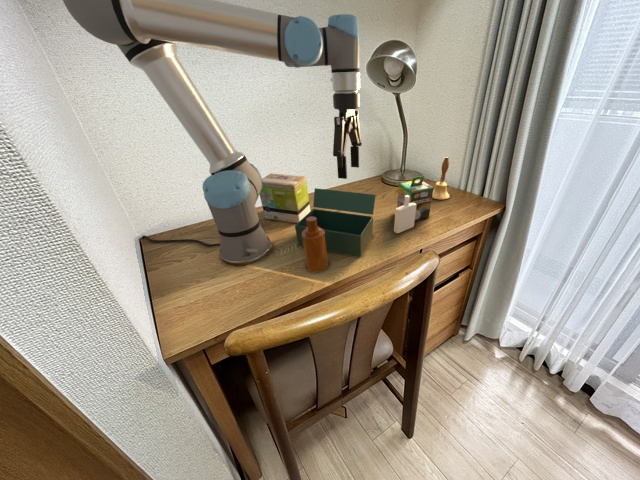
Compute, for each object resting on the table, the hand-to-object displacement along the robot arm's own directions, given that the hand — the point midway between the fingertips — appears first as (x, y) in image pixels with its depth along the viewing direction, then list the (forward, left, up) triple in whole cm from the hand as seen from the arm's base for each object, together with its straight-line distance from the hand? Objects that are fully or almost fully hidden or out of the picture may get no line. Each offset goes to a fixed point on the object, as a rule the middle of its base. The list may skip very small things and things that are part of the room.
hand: (349, 172), depth 85 cm
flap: (0, -6, -7) cm, 10 cm away
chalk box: (+20, +12, -18) cm, 30 cm away
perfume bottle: (+19, 0, -18) cm, 27 cm away
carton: (0, -14, -18) cm, 23 cm away
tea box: (-25, -2, -18) cm, 31 cm away
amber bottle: (0, -28, -18) cm, 33 cm away
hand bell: (+28, +33, -18) cm, 47 cm away
